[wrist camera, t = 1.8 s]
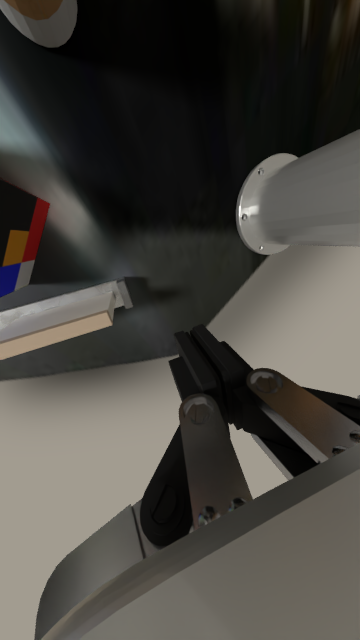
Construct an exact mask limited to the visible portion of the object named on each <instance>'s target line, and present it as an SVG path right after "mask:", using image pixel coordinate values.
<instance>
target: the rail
mask: <svg viewBox="0 0 360 640" xmlns="http://www.w3.org/2000/svg"><path fill="white" fill-rule="evenodd" d="M109 292H113V294H114V297H115V299H116V301H115V308H117V307H120V306H124V305H125V308H126V309H128V308H131V307H133V300H132V298H131V295H130V292H129V289H128V286H127V284H126V281H125V278H124V277H122V278H118V279H114V280H111V281H107V282H103V283H100V284H96V285H92V286H89V287H85V288H81V289H78V290H74V291H71V292H67V293H63V294H60V295H56V296H52V297H49V298H45V299H41V300H38V301H34V302H30V303H27V304H23V305H19V306H16V307H12V308H8V309H5V310H1V311H0V330H1V329H3V328H4V327H6V326H7V325H8V324H10V323H11V322H13V321H14V320H15V319H17V318H21V317H25V316H28V315H32V314H35V313H39V312H42V311H46V310H49V309H53V308H56V307H60V306H63V305H67V304H70V303H74V302H77V301H81V300H84V299H88V298H91V297H95V296H99V295H102V294H106V293H109Z"/></svg>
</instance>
